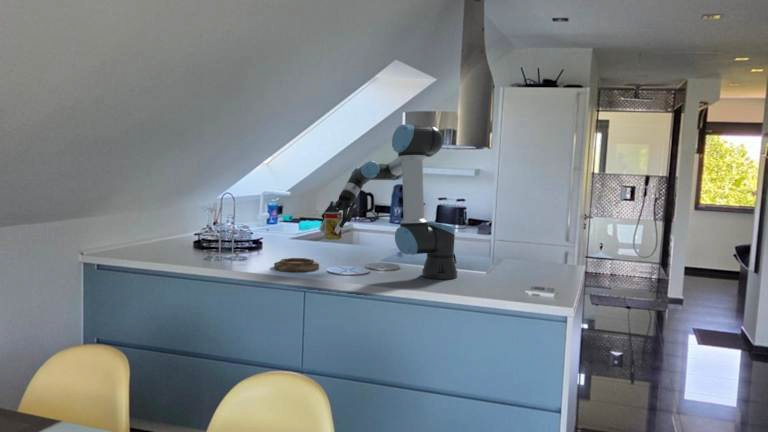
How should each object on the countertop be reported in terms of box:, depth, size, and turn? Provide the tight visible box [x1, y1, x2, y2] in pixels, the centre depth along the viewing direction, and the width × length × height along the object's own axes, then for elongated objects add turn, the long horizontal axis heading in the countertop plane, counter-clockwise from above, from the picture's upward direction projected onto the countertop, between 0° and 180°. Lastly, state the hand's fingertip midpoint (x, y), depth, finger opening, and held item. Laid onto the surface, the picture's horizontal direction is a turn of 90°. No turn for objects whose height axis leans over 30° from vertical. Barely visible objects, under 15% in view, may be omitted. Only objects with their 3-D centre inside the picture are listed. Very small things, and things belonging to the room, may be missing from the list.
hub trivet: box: [273, 257, 320, 273], centre depth 282 cm, size 20×20×3 cm
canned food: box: [323, 211, 343, 241], centre depth 287 cm, size 8×8×12 cm
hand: (328, 231), depth 285 cm, fingers closed on canned food, 8 cm apart
